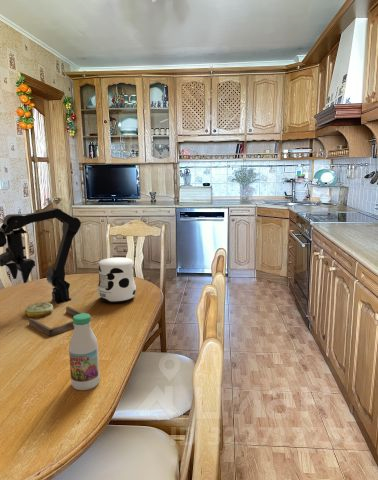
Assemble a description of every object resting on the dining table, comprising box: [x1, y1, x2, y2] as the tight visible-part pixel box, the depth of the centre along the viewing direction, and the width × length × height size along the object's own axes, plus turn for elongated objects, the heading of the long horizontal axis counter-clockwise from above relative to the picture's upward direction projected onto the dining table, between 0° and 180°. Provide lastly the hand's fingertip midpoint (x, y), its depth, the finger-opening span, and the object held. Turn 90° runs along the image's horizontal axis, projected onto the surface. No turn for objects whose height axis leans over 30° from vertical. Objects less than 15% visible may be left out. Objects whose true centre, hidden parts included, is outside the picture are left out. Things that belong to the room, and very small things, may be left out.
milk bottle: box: [68, 312, 101, 391], centre depth 100 cm, size 8×8×20 cm
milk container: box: [97, 257, 137, 304], centre depth 167 cm, size 17×17×18 cm
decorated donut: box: [25, 301, 54, 318], centre depth 152 cm, size 10×11×4 cm
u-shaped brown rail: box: [28, 305, 83, 338], centre depth 142 cm, size 17×16×2 cm
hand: (19, 280), depth 154 cm, fingers open, 9 cm apart
